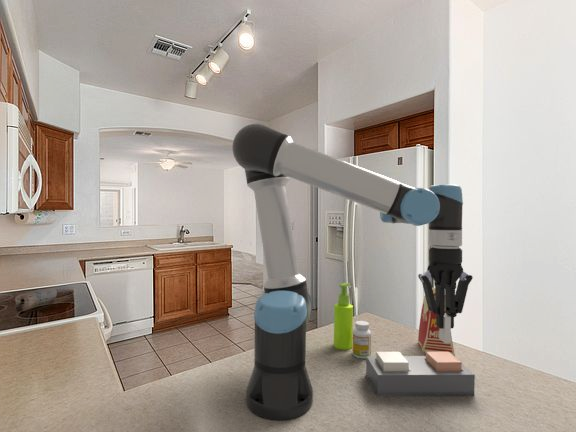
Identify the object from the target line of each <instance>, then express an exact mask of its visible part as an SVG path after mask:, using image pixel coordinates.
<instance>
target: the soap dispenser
mask: <svg viewBox="0 0 576 432" xmlns="http://www.w3.org/2000/svg"><path fill="white" fill-rule="evenodd" d="M351 285H352V283H350V282H342V283H340V284H339V288H340V289H341V290H340V293H338V300H337V301H338V302H337V303H334V306H333V307H334V309H333V310H334V313H333V317H334V318H333V319H334V320H333V321H334V322H333V347H334V348H335V349H338V350H344V351H345V350H346V351H347V350H351V349H353V330H354V326H353V323H354V322H353V321H354V320H353V319H354V305H352V304H351V303H350V294H348V293H347V289H348V286H351Z"/></svg>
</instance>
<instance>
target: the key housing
mask: <svg viewBox="0 0 576 432" xmlns="http://www.w3.org/2000/svg"><path fill="white" fill-rule="evenodd" d="M403 357H404V358H405V359H406V360H407V361H408V362H409V372H383V371H382V370H381V368H380V367H379V365H378V364H377V362H376V355H371V356H366V358H365V362H366V364H365V366H366V367H365V368H366V369H365V373H366V374H365V375H366V377H367V379H368V381H369V383H370V384H371V387H372V388H373V390H374V392H375V394H376V396H377V397H460V396H461V397H463V396H465V397H467V396H469V397H474V396H475V384H476V383H475V380H476V378H475V377H476V375H475V373H473V371H471V370H470V369H469V368H467V367H466V366H465V365H464V364H462V371H435V370H434V369H433V368H432V367H431V366H430V365H429V364H428V363H427V362H426V355H403Z"/></svg>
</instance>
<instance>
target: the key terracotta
mask: <svg viewBox="0 0 576 432" xmlns="http://www.w3.org/2000/svg"><path fill="white" fill-rule="evenodd" d="M425 356H426V362H427V363H428V364H429V365H430V366H431V367H432V368H433V369H434V370H435V371H462V365H463V364H462V361H460V359H458V358H457V357H456V355H455V356H454V355H452V354H451V353H450V352H425Z"/></svg>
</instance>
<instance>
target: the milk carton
mask: <svg viewBox="0 0 576 432" xmlns="http://www.w3.org/2000/svg"><path fill="white" fill-rule="evenodd" d="M432 289H433V293H434V298H435V287H432ZM445 314H446V312H445ZM419 319H420V320H419V325H418V336H417V343H418V344H419V345H420V347H421V351H422V353H426V352H450V353H451V354H452V355H453V356H454V355H455V354H456V353H455V350H454V349H455V348H454V343H453V337H452V335H451V343H444V342H443V341H441V340H440V339H439V328H438V327H437V325H436V314H434V313H433V312H431V311H429V309H428V305H427V301H426V297H425V295H424V296H423V300H422V306H421V312H420V318H419ZM455 356H456V355H455Z"/></svg>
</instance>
